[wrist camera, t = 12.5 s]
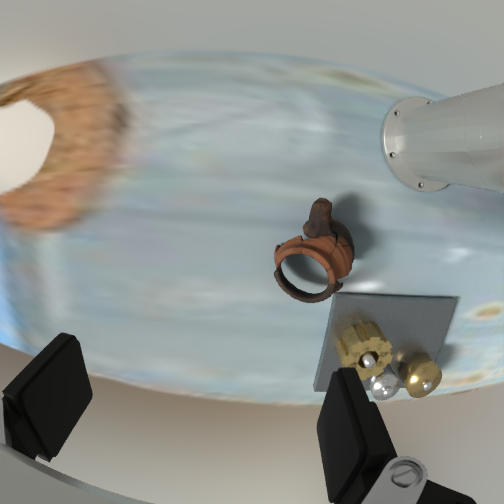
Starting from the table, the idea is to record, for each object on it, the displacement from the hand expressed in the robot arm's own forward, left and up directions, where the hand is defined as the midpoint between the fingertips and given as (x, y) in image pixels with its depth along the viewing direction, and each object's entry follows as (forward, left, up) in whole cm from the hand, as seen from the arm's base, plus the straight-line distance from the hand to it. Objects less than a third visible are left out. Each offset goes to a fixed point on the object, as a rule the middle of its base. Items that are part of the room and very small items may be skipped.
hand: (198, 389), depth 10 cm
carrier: (-13, +24, -28) cm, 39 cm away
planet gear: (-9, +21, -27) cm, 35 cm away
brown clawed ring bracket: (-7, +5, -29) cm, 30 cm away
